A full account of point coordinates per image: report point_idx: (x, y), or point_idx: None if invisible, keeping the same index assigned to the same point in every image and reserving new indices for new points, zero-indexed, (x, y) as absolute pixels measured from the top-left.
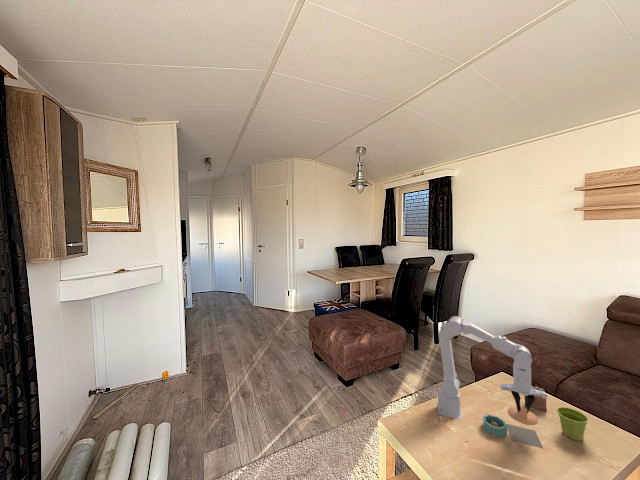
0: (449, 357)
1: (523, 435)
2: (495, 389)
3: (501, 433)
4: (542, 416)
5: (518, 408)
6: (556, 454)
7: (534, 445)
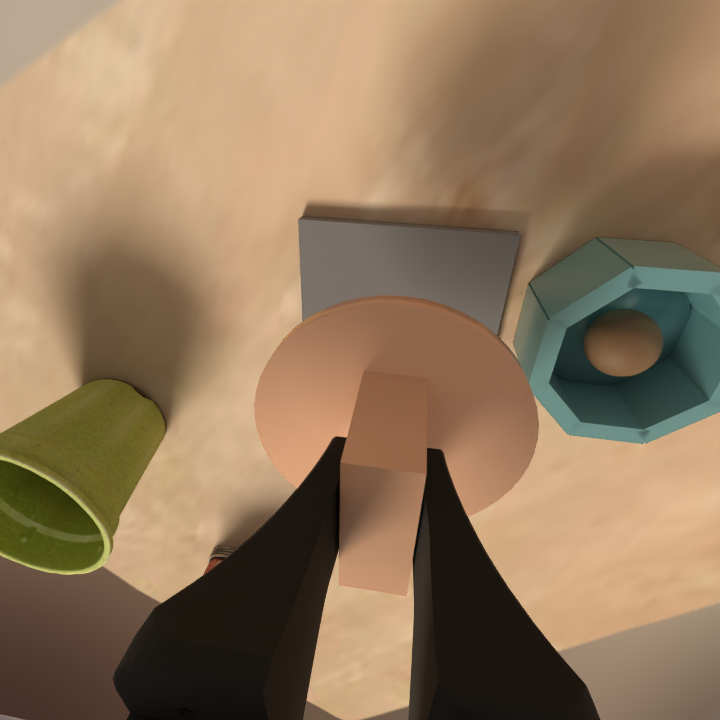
0: None
1: None
2: None
3: (612, 252)
4: (239, 516)
5: (444, 476)
6: (227, 201)
7: (354, 232)
